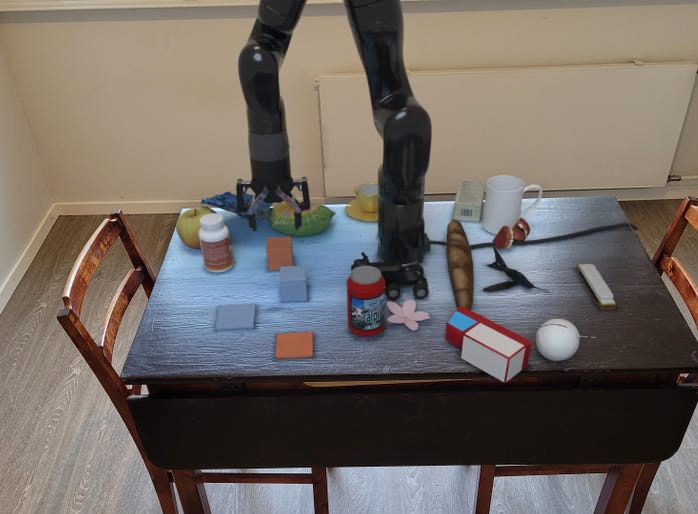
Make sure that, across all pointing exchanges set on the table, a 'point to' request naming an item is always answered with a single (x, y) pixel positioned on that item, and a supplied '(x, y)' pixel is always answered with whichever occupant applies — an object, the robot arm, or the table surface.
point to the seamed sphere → (557, 339)
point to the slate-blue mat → (236, 317)
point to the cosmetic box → (469, 200)
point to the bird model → (511, 273)
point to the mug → (505, 202)
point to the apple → (191, 225)
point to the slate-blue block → (293, 283)
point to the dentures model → (512, 234)
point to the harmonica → (596, 286)
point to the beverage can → (366, 301)
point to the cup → (364, 203)
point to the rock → (230, 204)
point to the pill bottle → (215, 243)
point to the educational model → (312, 219)
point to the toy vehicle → (398, 277)
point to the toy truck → (488, 344)
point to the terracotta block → (279, 252)
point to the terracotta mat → (294, 345)
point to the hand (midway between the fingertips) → (276, 228)
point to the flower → (406, 314)
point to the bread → (460, 264)
